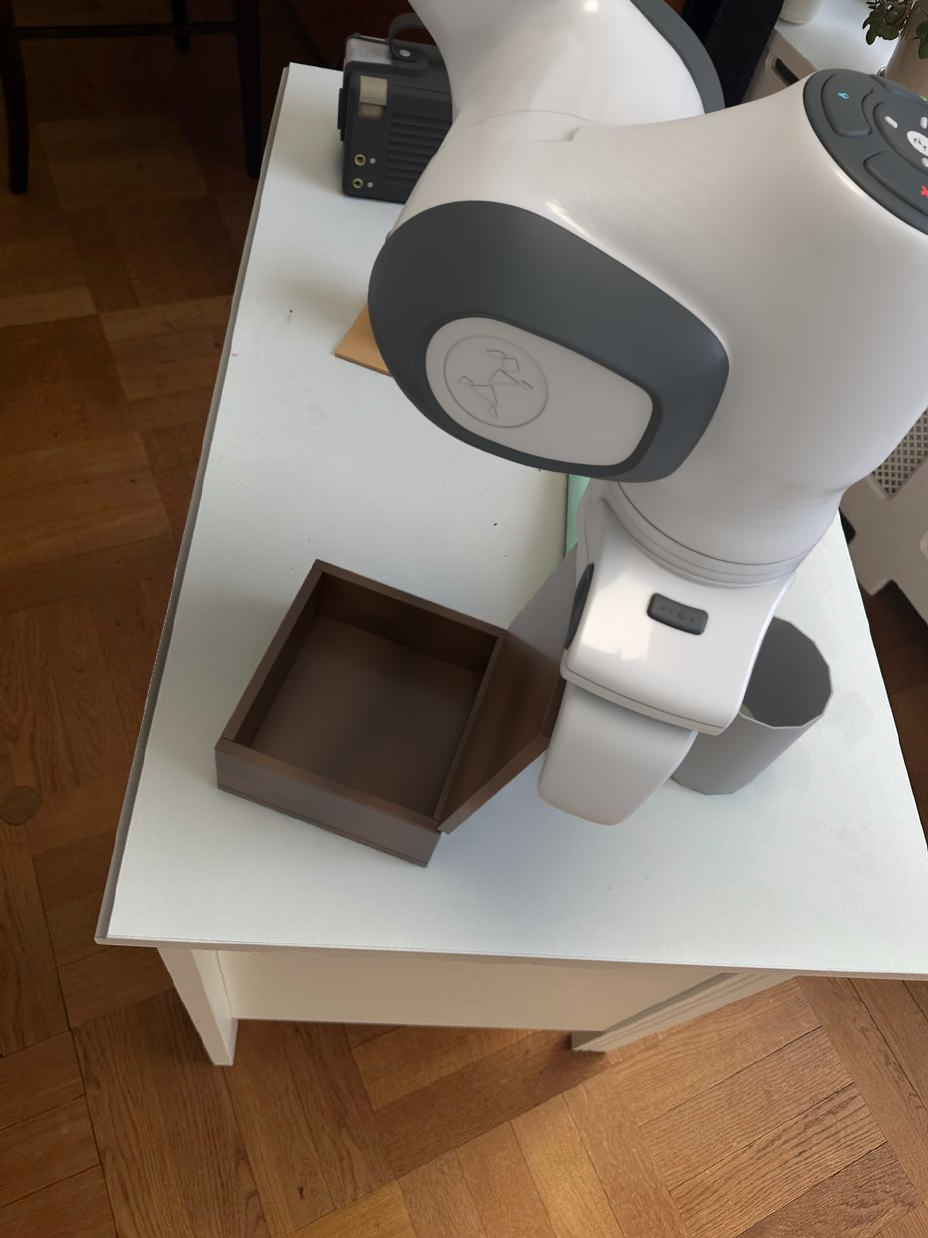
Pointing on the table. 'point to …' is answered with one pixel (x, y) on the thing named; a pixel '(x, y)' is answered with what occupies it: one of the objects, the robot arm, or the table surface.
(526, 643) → the chest lid
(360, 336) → the cork mat
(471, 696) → the chest
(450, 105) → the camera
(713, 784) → the cup
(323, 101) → the table surface
